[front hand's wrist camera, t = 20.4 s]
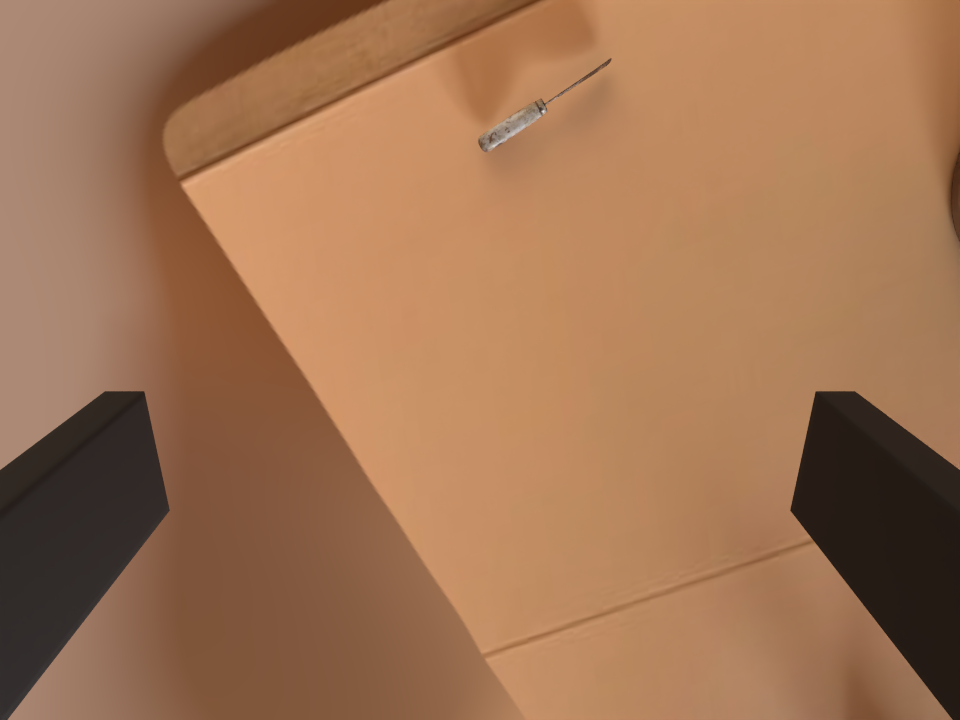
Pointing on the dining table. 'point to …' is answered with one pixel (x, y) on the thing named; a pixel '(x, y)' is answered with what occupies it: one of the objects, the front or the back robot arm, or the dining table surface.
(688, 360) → the dining table surface
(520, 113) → the putty knife
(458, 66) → the dining table surface
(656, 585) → the dining table surface
